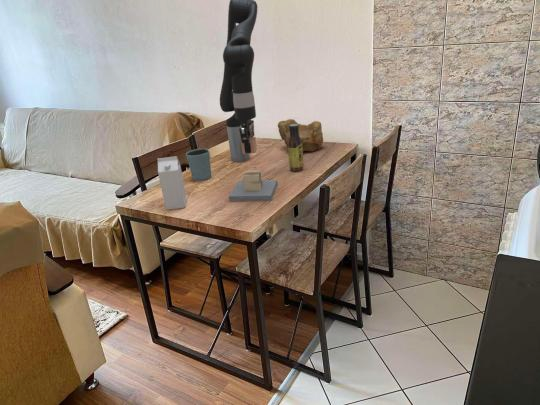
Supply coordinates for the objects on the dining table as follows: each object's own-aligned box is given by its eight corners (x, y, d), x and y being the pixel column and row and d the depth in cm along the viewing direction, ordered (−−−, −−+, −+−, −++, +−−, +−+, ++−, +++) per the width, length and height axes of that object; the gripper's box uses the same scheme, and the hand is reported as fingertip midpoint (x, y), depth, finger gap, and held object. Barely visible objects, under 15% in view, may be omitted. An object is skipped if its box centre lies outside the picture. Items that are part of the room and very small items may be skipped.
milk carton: (168, 202, 156) (158, 155, 148) (187, 200, 156) (178, 153, 148) (166, 210, 149) (155, 161, 142) (185, 208, 149) (175, 159, 142)
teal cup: (217, 174, 181) (213, 149, 176) (204, 182, 173) (199, 156, 168) (199, 173, 186) (195, 148, 181) (185, 180, 178) (180, 154, 173)
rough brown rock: (271, 156, 202) (269, 128, 195) (282, 144, 216) (279, 117, 209) (316, 159, 194) (315, 129, 187) (324, 146, 208) (323, 118, 201)
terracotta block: (245, 150, 153) (243, 137, 151) (256, 149, 152) (255, 136, 150) (242, 154, 149) (240, 140, 147) (254, 153, 148) (253, 140, 146)
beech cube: (247, 185, 160) (246, 170, 157) (262, 184, 159) (261, 170, 156) (244, 190, 154) (242, 176, 152) (259, 190, 153) (258, 175, 151)
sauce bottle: (302, 171, 174) (300, 126, 167) (288, 172, 176) (285, 127, 168) (304, 166, 180) (302, 122, 172) (290, 167, 182) (287, 123, 174)
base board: (239, 185, 166) (238, 181, 165) (277, 184, 163) (277, 180, 162) (229, 201, 151) (228, 196, 151) (271, 200, 148) (270, 195, 148)
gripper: (250, 108, 137) (255, 156, 143) (258, 100, 149) (262, 145, 156) (229, 109, 138) (235, 157, 145) (238, 102, 151) (244, 146, 158)
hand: (249, 150), depth 150 cm, fingers closed on terracotta block, 4 cm apart
